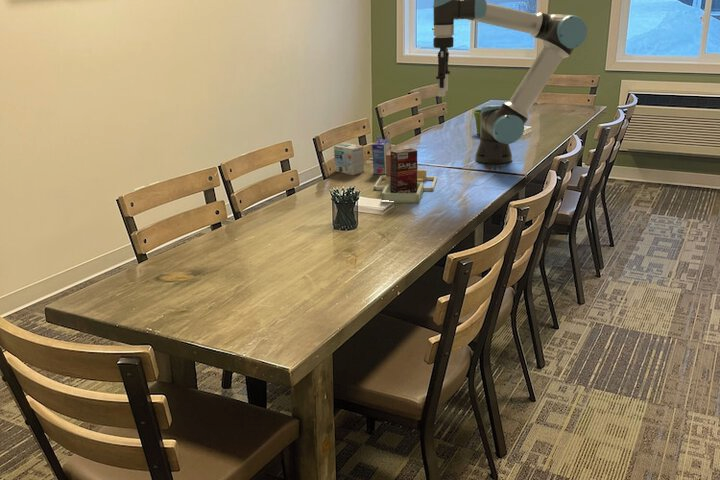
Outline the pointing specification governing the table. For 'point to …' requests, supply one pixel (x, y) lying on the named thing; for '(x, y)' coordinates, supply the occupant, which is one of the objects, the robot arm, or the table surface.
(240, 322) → the table surface
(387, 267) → the table surface
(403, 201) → the tray
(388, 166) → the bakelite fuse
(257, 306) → the table surface
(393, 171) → the supplement box
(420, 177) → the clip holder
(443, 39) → the robot arm
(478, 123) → the plant pot
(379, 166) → the ink cartridge box
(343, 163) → the light bulb box
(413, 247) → the table surface
